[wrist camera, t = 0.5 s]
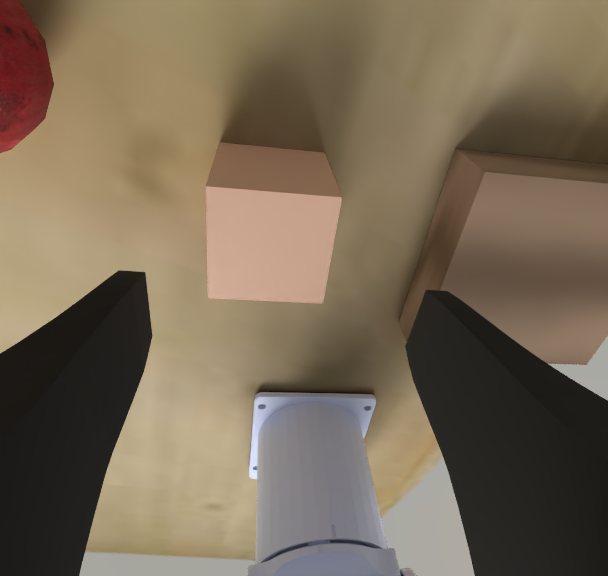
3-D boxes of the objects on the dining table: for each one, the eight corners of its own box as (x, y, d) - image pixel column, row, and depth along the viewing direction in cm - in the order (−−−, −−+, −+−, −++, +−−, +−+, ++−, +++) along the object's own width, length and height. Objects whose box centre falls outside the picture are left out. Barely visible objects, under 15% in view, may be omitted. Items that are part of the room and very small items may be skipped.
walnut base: (555, 329, 25) (586, 364, 23) (398, 322, 24) (413, 359, 21) (653, 169, 19) (709, 193, 17) (455, 148, 18) (485, 171, 16)
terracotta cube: (311, 242, 20) (322, 303, 16) (219, 236, 20) (207, 298, 16) (324, 152, 18) (342, 197, 14) (219, 141, 17) (205, 186, 13)
